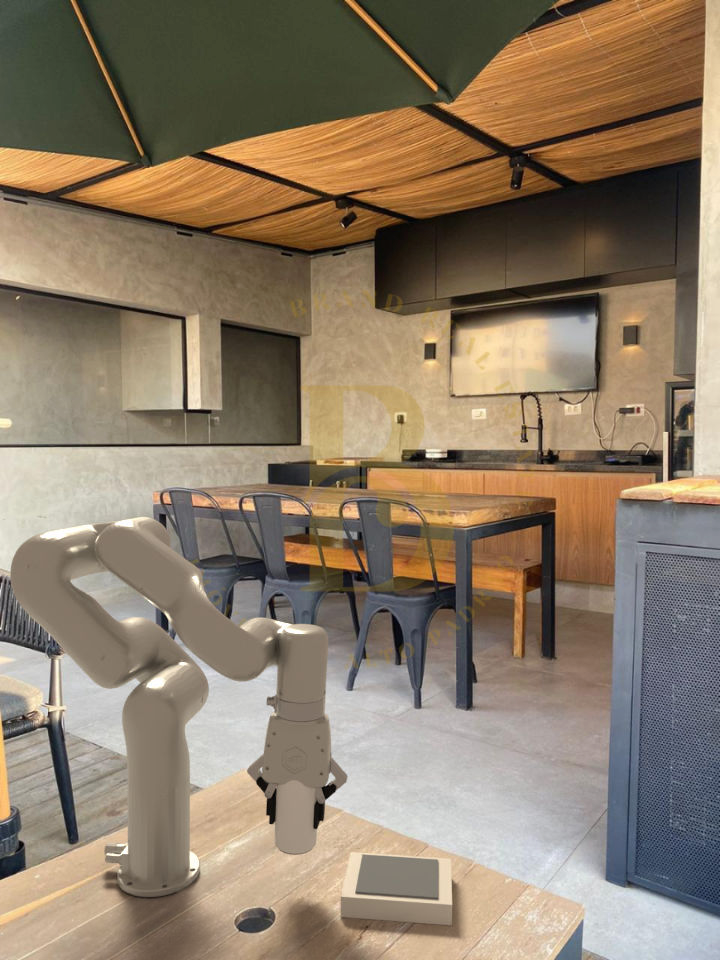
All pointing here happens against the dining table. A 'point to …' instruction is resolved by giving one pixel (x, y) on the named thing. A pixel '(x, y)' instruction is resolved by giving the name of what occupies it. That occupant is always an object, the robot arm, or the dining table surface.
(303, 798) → the can
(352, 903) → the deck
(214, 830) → the dining table surface
